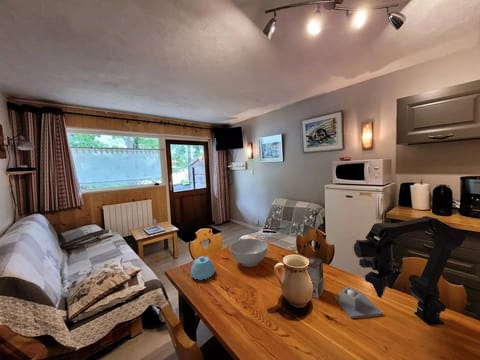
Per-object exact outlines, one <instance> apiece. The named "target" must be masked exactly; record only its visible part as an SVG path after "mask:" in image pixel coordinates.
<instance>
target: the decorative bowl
mask: <svg viewBox="0 0 480 360" xmlns="http://www.w3.org/2000/svg"><path fill="white" fill-rule="evenodd" d="M268 250H269V243H268V242H266V241H265V240H262V239H259V238H243V239H239V240H236V241H234V242H232V243H231V244H230V245H229V251H230V254H231V256H232V257H233V258H234V260H235V261H236V262H237V263H240V264H241V266H243V267H247V268H252V267H255V266H258V265H259V263H260V262H262V261H263V260H264V259H265V257H266V255H267V254H268Z"/></svg>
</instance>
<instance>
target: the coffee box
mask: <svg viewBox="0 0 480 360" xmlns="http://www.w3.org/2000/svg"><path fill="white" fill-rule="evenodd" d="M308 260H309V265H308V268H307V271H308V274H309V276H310V278H311V281H312V284H313V296H311V297H312V298H315V299H319V298H320V297H321V294H323V291H324V289H325V285H324V265H323V264H324V262H323V259H319V258H317V257H312V256H311V257H309V258H308Z"/></svg>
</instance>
